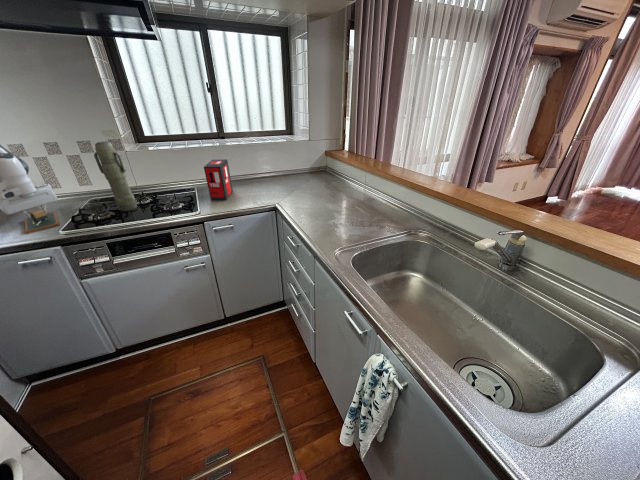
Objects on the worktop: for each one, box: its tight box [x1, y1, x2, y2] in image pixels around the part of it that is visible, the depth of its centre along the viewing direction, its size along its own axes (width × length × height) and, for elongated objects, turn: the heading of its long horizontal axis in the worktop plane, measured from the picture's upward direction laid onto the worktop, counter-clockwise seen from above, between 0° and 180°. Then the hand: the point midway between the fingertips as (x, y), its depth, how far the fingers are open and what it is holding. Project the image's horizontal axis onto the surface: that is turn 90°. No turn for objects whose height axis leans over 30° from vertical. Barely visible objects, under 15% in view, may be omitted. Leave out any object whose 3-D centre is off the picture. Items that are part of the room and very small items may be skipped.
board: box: [23, 211, 61, 235], centre depth 132 cm, size 20×12×1 cm, turn 45°
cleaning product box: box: [203, 158, 234, 202], centre depth 160 cm, size 16×9×20 cm, turn 3°
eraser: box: [27, 208, 48, 221], centre depth 133 cm, size 6×4×4 cm, turn 65°
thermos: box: [93, 141, 138, 212], centre depth 140 cm, size 9×12×35 cm
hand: (38, 215), depth 133 cm, fingers closed on eraser, 4 cm apart
